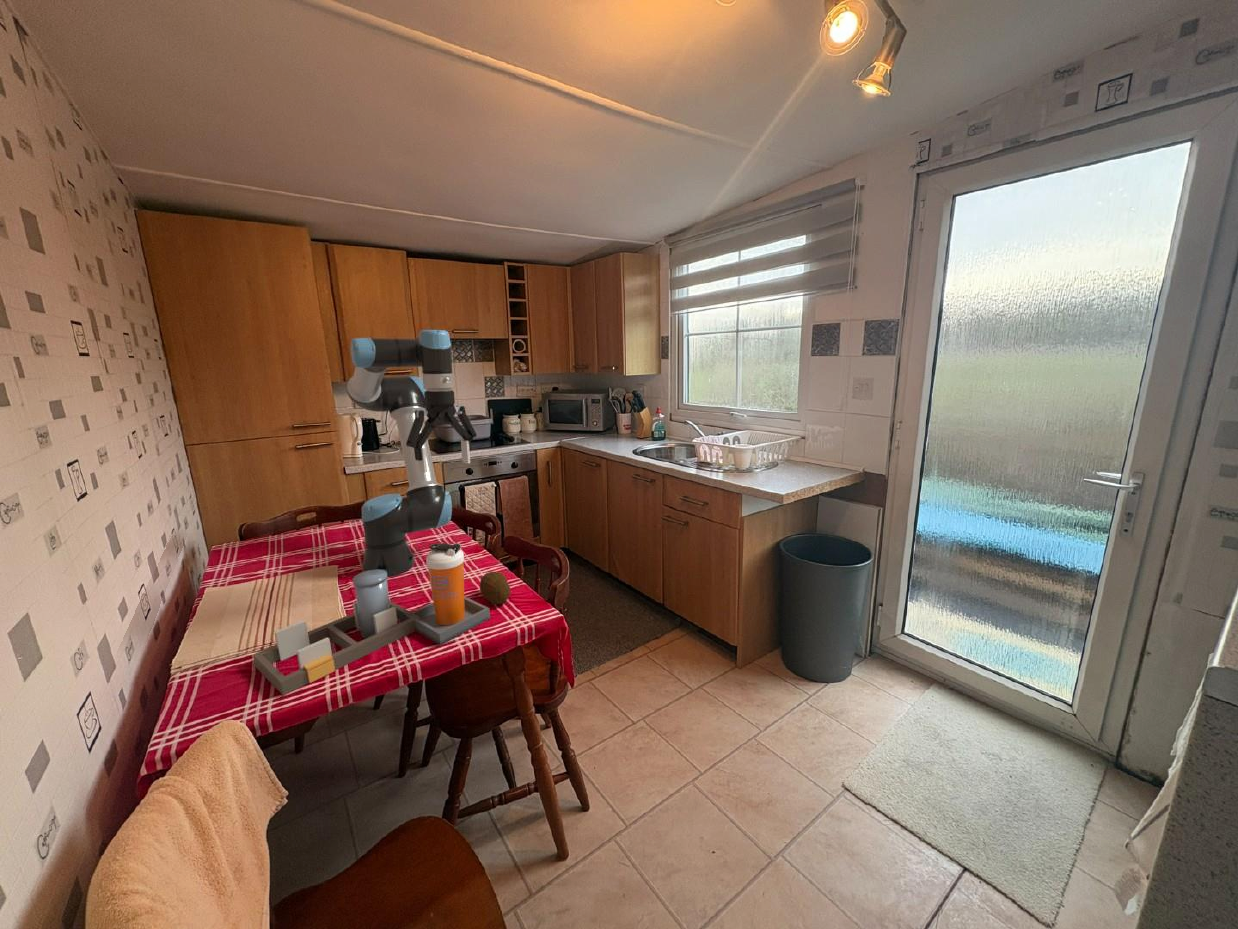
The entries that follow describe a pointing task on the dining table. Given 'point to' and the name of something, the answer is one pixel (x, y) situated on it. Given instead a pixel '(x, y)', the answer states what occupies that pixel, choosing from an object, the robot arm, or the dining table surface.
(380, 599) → the canister
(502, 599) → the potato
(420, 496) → the robot arm
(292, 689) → the rack
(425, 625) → the tray
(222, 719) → the dining table surface
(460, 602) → the shaker bottle
